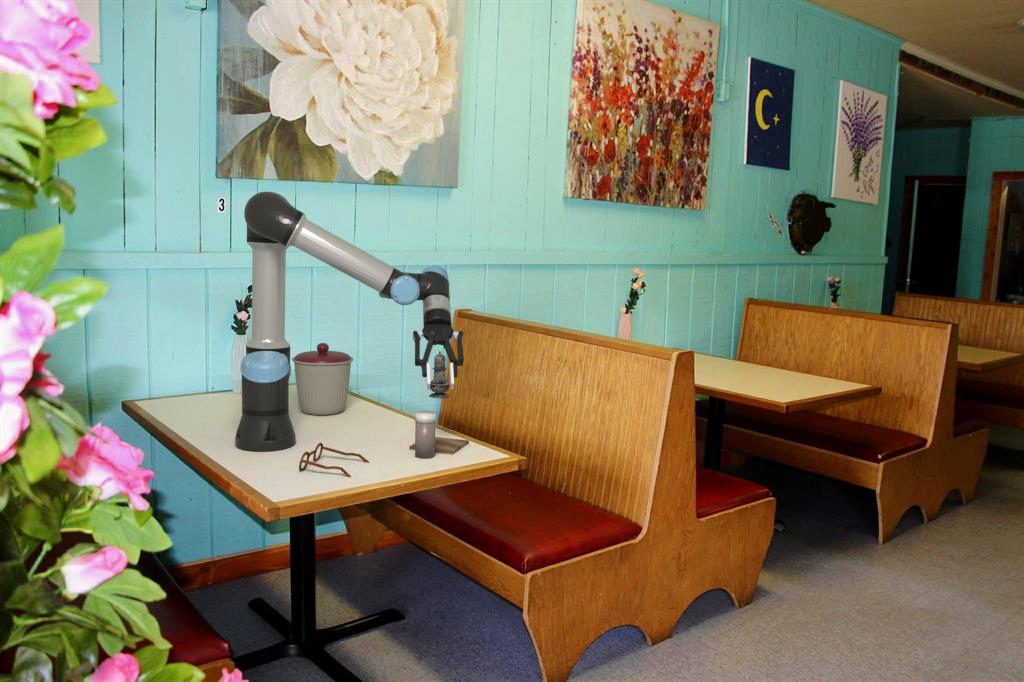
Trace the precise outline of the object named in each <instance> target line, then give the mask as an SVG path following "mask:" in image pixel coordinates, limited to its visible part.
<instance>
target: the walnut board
mask: <svg viewBox="0 0 1024 682" xmlns="http://www.w3.org/2000/svg"><path fill="white" fill-rule="evenodd" d="M469 443H470V440H467V439H457V438H451V437H439V436H435V454H437V453H438V454H444V455H454V454H456V453H457V452H459V451H460V450H461V449H463V448H465V446H467V445H469ZM408 446H409V445H408ZM408 448H409V449H408V450H412V451H415V442H414V443H413V444H411V445H410V446H409V447H408Z"/></svg>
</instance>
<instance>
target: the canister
mask: <svg viewBox="0 0 1024 682" xmlns="http://www.w3.org/2000/svg"><path fill="white" fill-rule="evenodd" d="M329 347H330V346H329V345H328V343H325V342H320V343H318V344H317V345H316V349H317V350H310V351H309V350H308V351H304V352H303V351H302V352H300V353H297V354H296V355H295V356H293V357H292V358H291V362H293V365H294V374H295V382H296V385H295V386H296V392H297V397H298V398H297V399H298V406H299V408H300V409H301V411H302V412H304V413H305V414H308V415H312V416H331V415H337V414H338V413H339V414H340V413H341V412H343V410H344V409H345V407H346V405H347V399H348V394H349V393H348V392H349V385H350V383H349V382H350V375H351V368H352V362H353V361H354V357H352V356H350V355H349V354H348V353H345V352H341V351H337V350H329V349H330V348H329Z"/></svg>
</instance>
